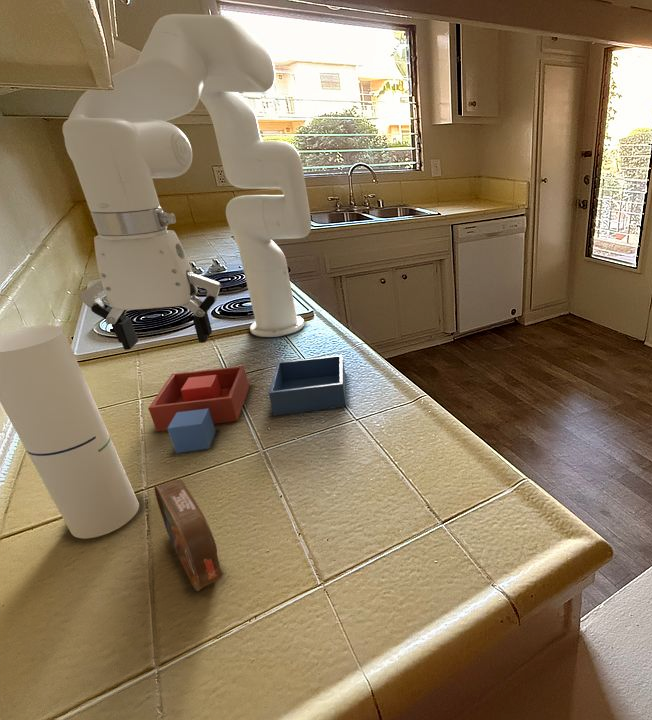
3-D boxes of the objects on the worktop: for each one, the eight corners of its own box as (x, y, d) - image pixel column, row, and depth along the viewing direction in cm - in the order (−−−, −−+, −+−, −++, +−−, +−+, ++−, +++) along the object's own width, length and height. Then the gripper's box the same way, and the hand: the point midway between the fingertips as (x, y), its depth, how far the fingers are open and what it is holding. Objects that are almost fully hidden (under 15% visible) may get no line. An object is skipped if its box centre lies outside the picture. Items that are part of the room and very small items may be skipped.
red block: (195, 399, 84) (188, 377, 82) (223, 396, 85) (216, 374, 83) (188, 413, 80) (180, 390, 78) (217, 409, 81) (210, 386, 79)
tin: (164, 528, 58) (143, 475, 54) (192, 515, 60) (173, 463, 56) (203, 608, 48) (180, 550, 44) (234, 589, 50) (215, 532, 46)
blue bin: (281, 382, 91) (276, 362, 89) (345, 375, 94) (342, 354, 92) (273, 416, 80) (268, 393, 78) (346, 406, 83) (342, 384, 81)
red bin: (179, 395, 87) (171, 373, 85) (249, 386, 89) (244, 365, 87) (156, 431, 76) (147, 408, 74) (237, 420, 79) (231, 397, 77)
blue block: (184, 436, 75) (176, 412, 73) (215, 431, 76) (208, 408, 74) (176, 453, 71) (167, 428, 69) (209, 448, 72) (201, 424, 70)
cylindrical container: (56, 529, 57) (-46, 347, 46) (113, 491, 63) (35, 322, 52) (97, 544, 55) (0, 357, 44) (152, 504, 61) (79, 330, 50)
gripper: (210, 216, 66) (237, 328, 74) (68, 221, 62) (112, 339, 70) (195, 225, 60) (227, 346, 67) (36, 231, 56) (88, 359, 63)
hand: (168, 342), depth 68 cm, fingers open, 9 cm apart
